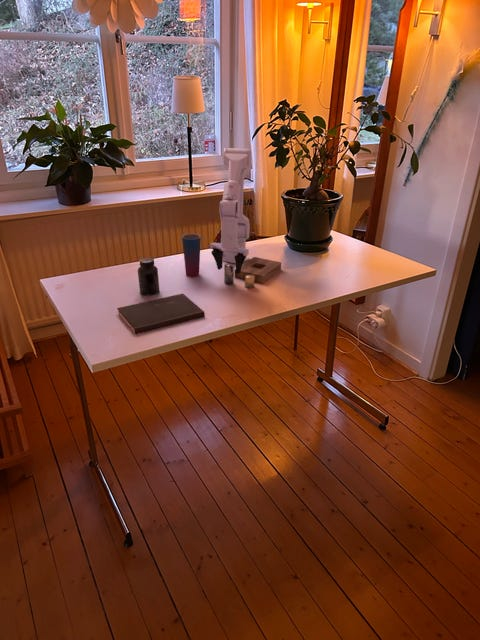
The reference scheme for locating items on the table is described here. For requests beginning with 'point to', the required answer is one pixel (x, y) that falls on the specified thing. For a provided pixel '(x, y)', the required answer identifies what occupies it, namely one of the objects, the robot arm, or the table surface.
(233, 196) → the robot arm
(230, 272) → the long steel peg
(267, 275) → the walnut board
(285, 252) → the table surface
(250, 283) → the short brass peg
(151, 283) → the supplement bottle
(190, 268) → the cup
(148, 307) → the hardcover book
